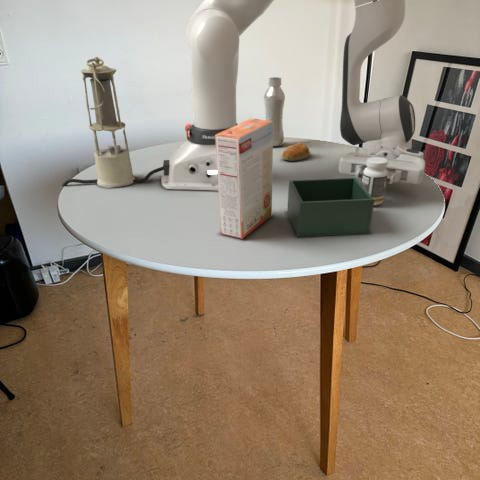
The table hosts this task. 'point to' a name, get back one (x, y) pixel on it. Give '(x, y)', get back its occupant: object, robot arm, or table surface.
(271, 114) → the plastic bottle
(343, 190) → the bin
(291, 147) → the pastry
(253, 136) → the cracker box
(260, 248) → the table surface
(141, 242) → the table surface
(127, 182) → the lamp
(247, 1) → the robot arm
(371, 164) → the pill bottle
